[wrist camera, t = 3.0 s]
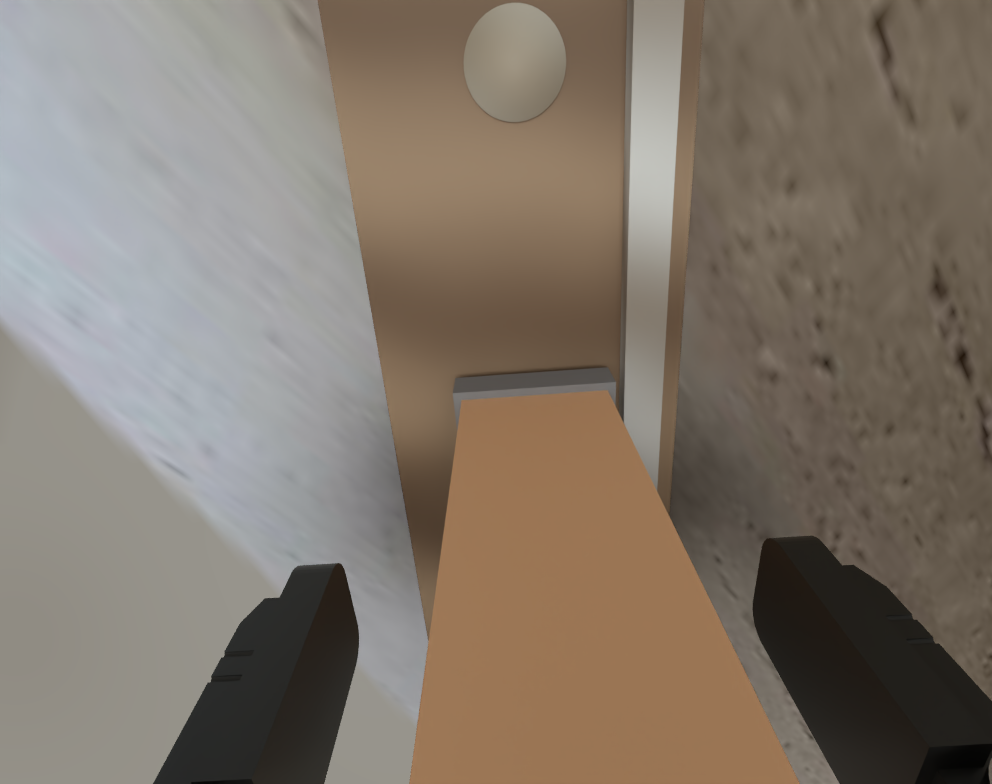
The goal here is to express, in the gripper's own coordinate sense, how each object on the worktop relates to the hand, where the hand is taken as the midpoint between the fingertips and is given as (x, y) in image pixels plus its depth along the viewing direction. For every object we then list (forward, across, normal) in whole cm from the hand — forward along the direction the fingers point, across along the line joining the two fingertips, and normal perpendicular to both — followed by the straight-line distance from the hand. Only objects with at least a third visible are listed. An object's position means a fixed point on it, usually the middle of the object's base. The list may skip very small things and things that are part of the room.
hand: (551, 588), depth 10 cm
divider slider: (+6, 0, 0) cm, 6 cm away
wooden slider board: (+8, 0, -4) cm, 8 cm away
